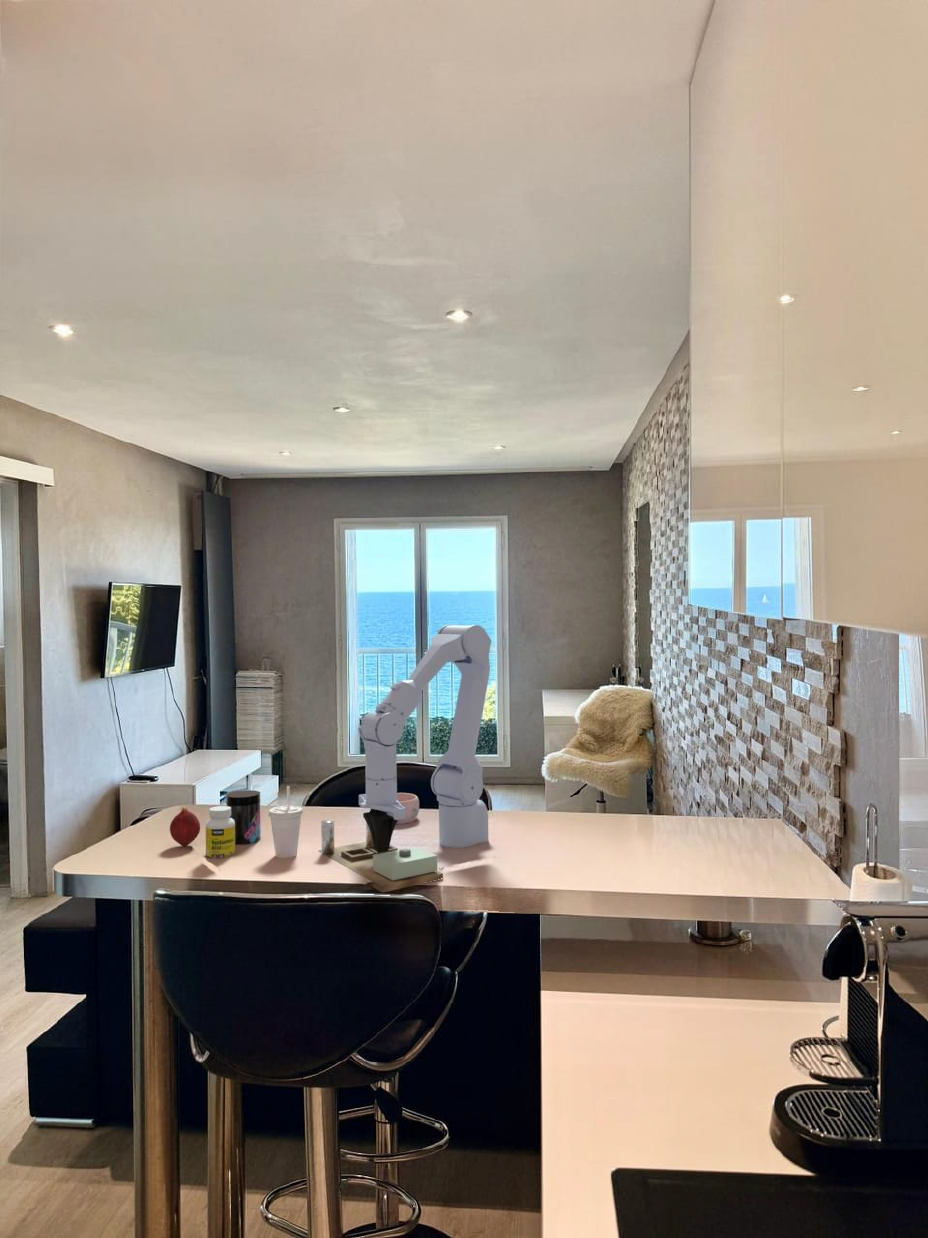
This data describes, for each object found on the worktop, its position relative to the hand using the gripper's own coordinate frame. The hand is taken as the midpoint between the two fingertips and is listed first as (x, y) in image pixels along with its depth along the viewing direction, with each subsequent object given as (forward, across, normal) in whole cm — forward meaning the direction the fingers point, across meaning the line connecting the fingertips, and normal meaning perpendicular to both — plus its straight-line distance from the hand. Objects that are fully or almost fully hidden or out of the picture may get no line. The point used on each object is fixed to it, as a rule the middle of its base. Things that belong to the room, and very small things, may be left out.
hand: (381, 851), depth 155 cm
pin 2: (+2, -10, +4) cm, 11 cm away
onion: (+3, -35, -26) cm, 44 cm away
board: (+3, 0, -1) cm, 3 cm away
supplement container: (+3, -29, -16) cm, 33 cm away
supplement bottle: (+3, -22, -23) cm, 32 cm away
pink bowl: (+3, -26, +18) cm, 32 cm away
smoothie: (+3, -14, -13) cm, 19 cm away
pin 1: (+2, -10, -6) cm, 12 cm away
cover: (+1, +9, 0) cm, 9 cm away
